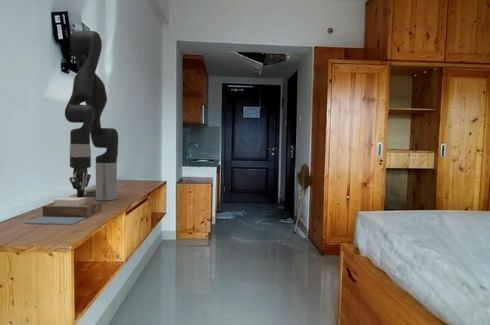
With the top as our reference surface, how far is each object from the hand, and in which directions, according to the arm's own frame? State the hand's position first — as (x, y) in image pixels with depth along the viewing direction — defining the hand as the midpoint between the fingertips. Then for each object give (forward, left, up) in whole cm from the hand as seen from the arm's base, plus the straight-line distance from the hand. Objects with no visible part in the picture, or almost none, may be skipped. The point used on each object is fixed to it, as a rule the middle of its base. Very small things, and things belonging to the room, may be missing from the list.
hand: (80, 199), depth 137 cm
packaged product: (-40, -5, -2) cm, 40 cm away
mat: (+17, 0, -5) cm, 18 cm away
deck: (+6, 0, -5) cm, 8 cm away
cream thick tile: (+8, 0, -1) cm, 8 cm away
